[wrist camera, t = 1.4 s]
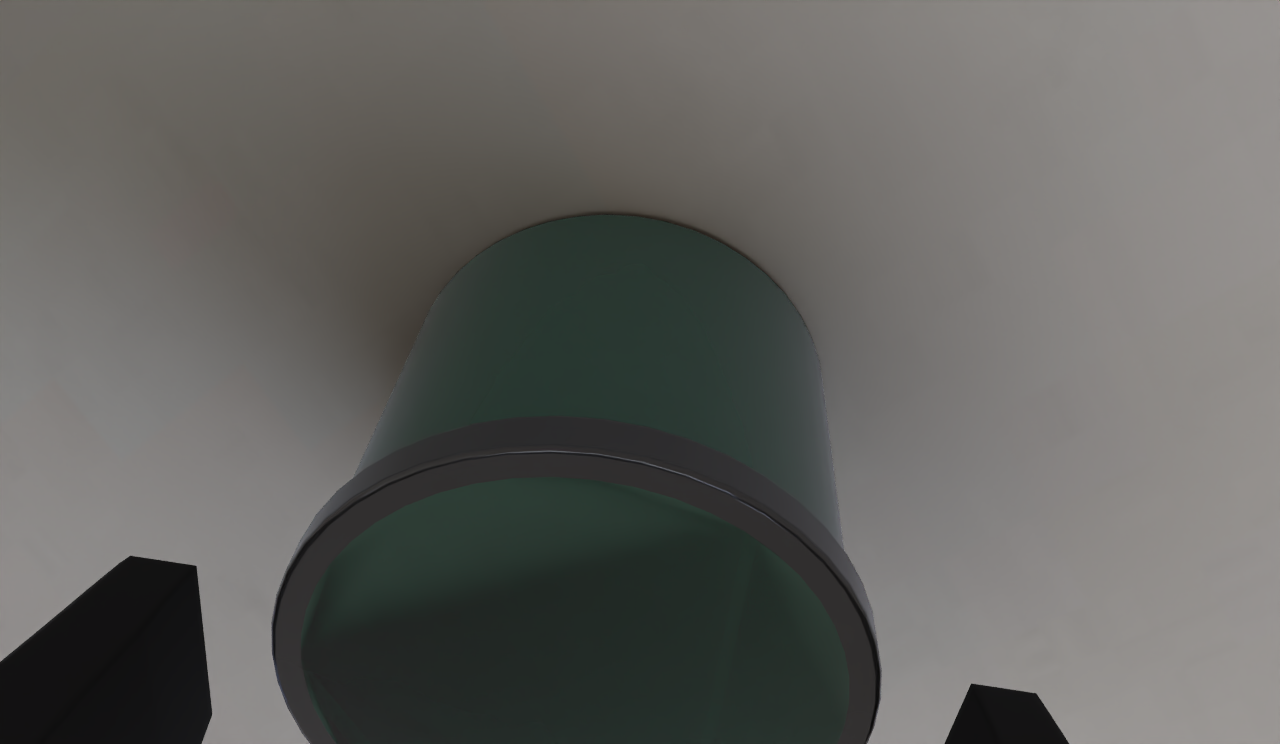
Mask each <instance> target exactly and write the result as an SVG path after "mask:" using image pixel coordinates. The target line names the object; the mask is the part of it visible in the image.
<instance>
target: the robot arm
mask: <svg viewBox="0 0 1280 744" xmlns="http://www.w3.org/2000/svg"><path fill="white" fill-rule="evenodd" d="M211 716H212V708H211V698H210V689H209V680H208V670H207V661H206V651H205V642H204V633H203V623H202V614H201V604H200V595H199V586H198V576H197V567H196V566H194V565H187V564H181V563H174V562H168V561H161V560H154V559H148V558H141V557H135V556H129V557H128V558H126V559H125V560H123V561H122V562H120V563H119V564H118V565H117V566H115V567H114V568H113V569H112V570H111V571H109V572H108V573H107V574H106V575H104V576H103V577H102V578H101V579H100V580H98V581H97V582H96V583H95V584H94V585H92V586H91V587H90V588H89V589H88V590H86V591H85V592H84V593H83V594H82V595H80V596H79V597H78V598H77V599H76V600H74V601H73V602H72V603H71V604H70V605H68V606H67V607H66V608H65V609H64V610H62V611H61V612H60V613H59V614H58V615H56V616H55V617H54V618H53V619H52V620H51V621H49V622H48V623H47V624H46V625H44V626H43V627H42V628H41V629H40V630H38V631H37V632H36V633H35V634H34V635H32V636H31V637H30V638H29V639H28V640H26V641H25V642H24V643H23V644H21V645H20V646H19V647H18V648H17V649H15V650H14V651H13V652H12V653H10V654H9V655H8V656H7V657H6V658H4V659H3V660H2V661H1V662H0V744H201V743H202V741H203V738H204V735H205V733H206V730H207V727H208V724H209V722H210V719H211ZM945 744H1069V743H1068V741H1067V740H1066V738H1065V737H1064V735H1063V733H1062V732H1061V730H1060V729H1059V727H1058V726H1057V724H1056V723H1055V721H1054V719H1053V718H1052V716H1051V715H1050V713H1049V712H1048V710H1047V709H1046V707H1045V706H1044V704H1043V703H1042V701H1041V700H1040V698H1039V697H1038V695H1037V694H1036V693H1030V692H1023V691H1016V690H1010V689H1003V688H997V687H990V686H983V685H977V684H971V686H970V688H969V690H968V692H967V694H966V697H965V699H964V701H963V703H962V706H961V708H960V710H959V712H958V715H957V717H956V719H955V721H954V724H953V726H952V728H951V730H950V733H949V735H948V737H947V739H946V742H945Z"/></svg>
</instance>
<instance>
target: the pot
mask: <svg viewBox="0 0 1280 744" xmlns="http://www.w3.org/2000/svg"><path fill="white" fill-rule="evenodd" d="M272 655H273V660H274V665H275V670H276V676H277V681H278V684H279V686H280V689H281V691H282V694H283V697H284V699H285V702H286V705H287V707H288V709H289V711H290V713H291V714H292V716H293V718H294V720H295V721H296V723H297V725H298V727H299V728H300V730H301V732H302V734H303V735H304V736H305V737H306V739H307V740H308V741H309V743H310V744H867V742H868V740H869V738H870V735H871V733H872V731H873V728H874V726H875V722H876V717H877V713H878V709H879V704H880V700H881V677H882V669H881V663H880V656H879V649H878V642H877V636H876V630H875V623H874V617H873V611H872V608H871V605H870V603H869V600H868V597H867V594H866V591H865V588H864V585H863V583H862V581H861V579H860V577H859V575H858V574H857V572H856V570H855V568H854V566H853V565H852V563H851V561H850V559H849V557H848V556H847V554H846V553H845V551H844V545H843V537H842V529H841V521H840V513H839V505H838V497H837V489H836V481H835V473H834V466H833V458H832V450H831V442H830V434H829V426H828V418H827V410H826V402H825V395H824V387H823V380H822V374H821V368H820V362H819V358H818V355H817V352H816V349H815V346H814V343H813V340H812V337H811V335H810V333H809V331H808V329H807V327H806V325H805V323H804V322H803V320H802V318H801V316H800V314H799V313H798V311H797V310H796V309H795V307H794V306H793V304H792V303H791V302H790V300H789V299H788V297H787V296H786V295H785V293H784V292H783V291H782V290H781V289H780V288H779V287H778V286H777V285H776V284H775V283H774V282H773V281H772V280H771V279H770V278H769V277H768V276H767V275H766V274H765V273H764V272H763V271H761V270H760V269H759V268H758V267H756V266H755V265H754V264H753V263H751V262H750V261H749V260H748V259H747V258H745V257H744V256H742V255H740V254H739V253H737V252H735V251H734V250H732V249H730V248H729V247H727V246H726V245H724V244H722V243H721V242H719V241H716V240H714V239H712V238H710V237H708V236H705V235H703V234H701V233H699V232H697V231H694V230H691V229H688V228H685V227H682V226H678V225H675V224H672V223H669V222H665V221H660V220H654V219H649V218H644V217H638V216H624V215H591V216H578V217H572V218H566V219H561V220H555V221H550V222H547V223H544V224H541V225H537V226H534V227H531V228H528V229H525V230H522V231H520V232H518V233H516V234H514V235H511V236H509V237H507V238H505V239H503V240H501V241H499V242H497V243H495V244H494V245H492V246H491V247H489V248H488V249H486V250H485V251H483V252H481V253H480V254H478V255H477V256H476V257H474V258H473V259H472V260H471V261H470V262H469V263H468V264H466V265H465V266H464V267H463V268H462V269H461V270H459V271H458V272H457V273H456V274H455V276H454V277H453V278H452V279H451V280H450V281H449V283H448V284H447V285H446V286H445V287H444V289H443V290H442V291H441V292H440V294H439V296H438V297H437V299H436V301H435V302H434V304H433V305H432V307H431V309H430V310H429V312H428V314H427V316H426V319H425V321H424V323H423V325H422V327H421V330H420V332H419V334H418V336H417V338H416V341H415V343H414V345H413V347H412V349H411V352H410V354H409V356H408V358H407V360H406V362H405V365H404V367H403V369H402V371H401V373H400V376H399V378H398V380H397V382H396V384H395V387H394V389H393V391H392V393H391V395H390V398H389V400H388V402H387V404H386V406H385V408H384V411H383V413H382V415H381V417H380V419H379V422H378V424H377V426H376V428H375V430H374V433H373V435H372V437H371V439H370V441H369V444H368V446H367V448H366V450H365V452H364V454H363V457H362V459H361V461H360V463H359V465H358V468H357V470H356V472H355V474H354V476H353V479H351V480H350V481H349V482H348V483H346V484H345V485H344V486H343V487H341V488H340V489H339V490H338V491H337V492H336V493H335V494H334V495H333V496H332V497H331V499H330V500H329V501H328V502H327V503H326V504H325V505H324V506H323V507H322V509H321V510H320V511H319V512H318V513H317V514H316V516H315V517H314V519H313V520H312V522H311V524H310V525H309V527H308V529H307V530H306V532H305V533H304V535H303V537H302V538H301V540H300V542H299V544H298V546H297V548H296V550H295V552H294V554H293V556H292V558H291V560H290V563H289V565H288V567H287V569H286V572H285V574H284V577H283V579H282V582H281V584H280V587H279V590H278V592H277V595H276V600H275V606H274V612H273V617H272Z"/></svg>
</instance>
